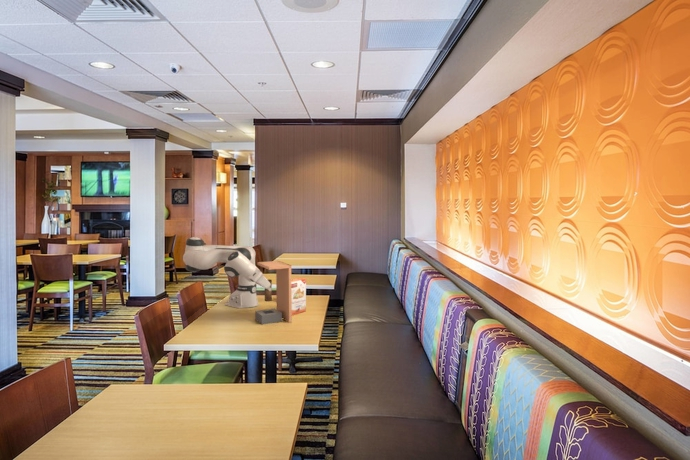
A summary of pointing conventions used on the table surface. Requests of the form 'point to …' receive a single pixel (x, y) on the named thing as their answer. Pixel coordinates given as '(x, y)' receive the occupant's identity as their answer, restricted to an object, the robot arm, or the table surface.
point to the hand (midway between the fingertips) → (269, 289)
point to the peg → (268, 292)
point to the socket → (268, 316)
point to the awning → (282, 287)
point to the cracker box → (298, 295)
